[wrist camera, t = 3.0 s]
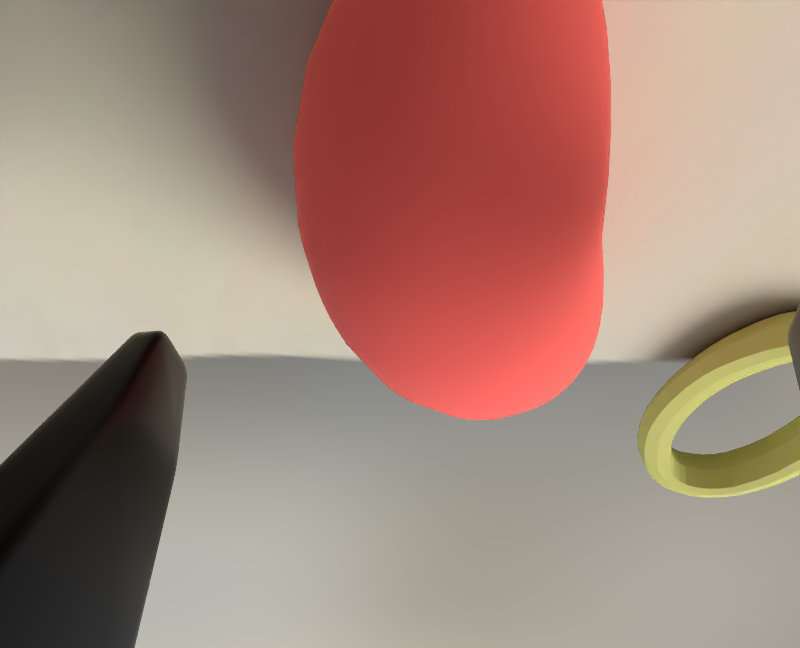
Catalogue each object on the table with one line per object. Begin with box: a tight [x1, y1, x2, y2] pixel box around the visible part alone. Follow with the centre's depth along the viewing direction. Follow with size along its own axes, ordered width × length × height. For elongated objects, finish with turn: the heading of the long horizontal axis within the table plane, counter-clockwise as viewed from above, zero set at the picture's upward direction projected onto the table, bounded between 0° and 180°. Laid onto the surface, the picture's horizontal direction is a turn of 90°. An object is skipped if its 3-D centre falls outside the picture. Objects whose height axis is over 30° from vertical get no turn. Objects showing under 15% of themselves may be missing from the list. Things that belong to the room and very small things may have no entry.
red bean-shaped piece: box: [293, 0, 611, 420], centre depth 11 cm, size 5×9×6 cm, turn 0°
